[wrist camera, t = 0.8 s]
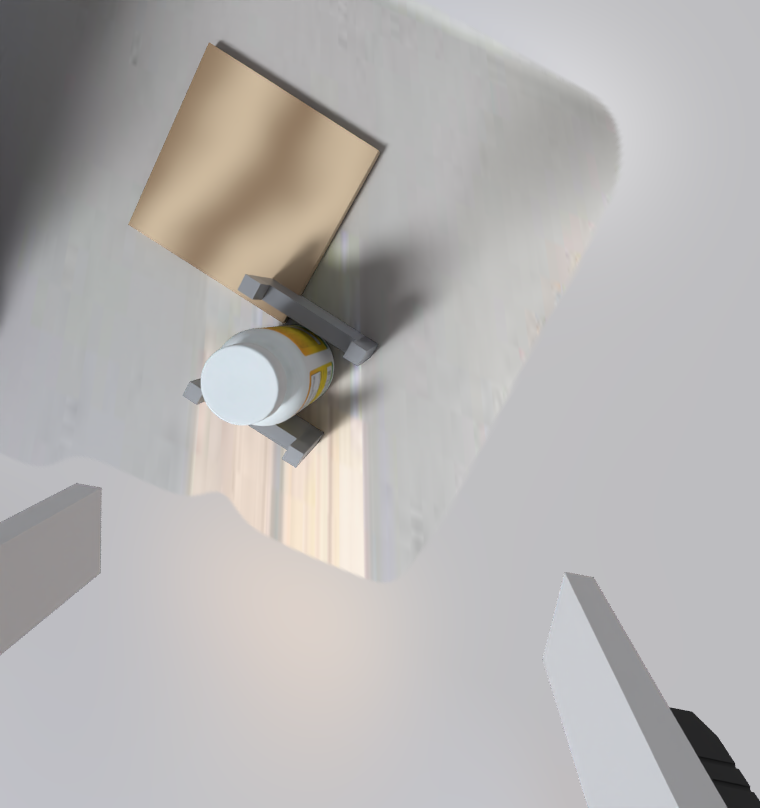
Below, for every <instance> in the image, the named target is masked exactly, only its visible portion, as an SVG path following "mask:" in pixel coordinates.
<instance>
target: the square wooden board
mask: <svg viewBox="0 0 760 808" xmlns="http://www.w3.org/2000/svg"><path fill="white" fill-rule="evenodd" d="M379 154H380V152H379V150H377V149H376V148H374V147H372V146H371V145H369V144H368V143H366V142H365V141H363V140H361V139H360V138H358V137H357V136H355V135H354V134H352V133H350V132H349V131H347V130H346V129H344V128H343V127H341V126H339V125H338V124H336V123H335V122H333V121H332V120H330V119H329V118H327V117H325V116H324V115H322V114H321V113H319V112H318V111H316V110H314V109H313V108H311V107H310V106H308V105H307V104H305V103H303V102H302V101H300V100H299V99H297V98H296V97H294V96H292V95H291V94H289V93H288V92H286V91H285V90H283V89H281V88H280V87H278V86H277V85H275V84H274V83H272V82H271V81H269V80H267V79H266V78H264V77H263V76H261V75H260V74H258V73H256V72H255V71H253V70H252V69H250V68H249V67H247V66H245V65H244V64H242V63H241V62H239V61H238V60H236V59H234V58H233V57H231V56H230V55H228V54H227V53H225V52H223V51H222V50H220V49H219V48H217V47H216V46H214V45H212V44H211V43H209V44H208V46H207V48H206V50H205V53H204V55H203V57H202V59H201V62H200V64H199V66H198V68H197V71H196V73H195V75H194V77H193V80H192V82H191V84H190V86H189V89H188V91H187V93H186V96H185V98H184V100H183V102H182V105H181V107H180V109H179V111H178V114H177V116H176V118H175V120H174V123H173V125H172V127H171V129H170V132H169V134H168V136H167V138H166V141H165V143H164V145H163V147H162V150H161V152H160V154H159V156H158V159H157V161H156V163H155V165H154V168H153V170H152V172H151V175H150V177H149V179H148V181H147V184H146V186H145V188H144V190H143V193H142V195H141V197H140V199H139V202H138V204H137V206H136V208H135V211H134V213H133V215H132V217H131V220H130V222H129V224H128V225H130V226H131V227H133V228H134V229H136V230H138V231H139V232H141V233H142V234H144V235H145V236H147V237H149V238H150V239H152V240H153V241H155V242H156V243H158V244H160V245H161V246H163V247H164V248H166V249H167V250H169V251H171V252H172V253H174V254H175V255H177V256H178V257H180V258H182V259H183V260H185V261H186V262H188V263H189V264H191V265H192V266H194V267H196V268H197V269H199V270H200V271H202V272H203V273H205V274H207V275H208V276H210V277H211V278H213V279H214V280H216V281H218V282H219V283H221V284H222V285H224V286H225V287H227V288H229V289H230V290H232V291H233V292H235V293H236V294H238V295H240V296H241V297H243V298H244V299H246V300H247V301H249V302H251V303H252V304H254V305H255V306H257V307H258V308H260V309H262V310H263V311H265V312H266V313H268V314H269V315H271V316H273V317H274V318H276V319H277V320H279V321H280V322H282V323H286V322H287V320H288V318H289V317H288V316H287V315H285V314H284V313H282V312H280V311H279V310H277V309H276V308H274V307H273V306H271V305H269V304H268V303H266V302H265V301H263V300H253V299H251V298H249V297H248V296H246V295H245V294H243V293H241V292H240V291H238V288H239V286H240V284H241V282H242V280H243V278H244V276H245V274H247V275H254V276H260V277H266V278H272V279H274V280H276V281H277V282H279V283H280V284H282V285H283V286H285V287H286V288H288V289H290V290H291V291H293V292H294V293H296V294H297V295H302V293H303V291H304V289H305V288H306V286H307V284H308V282H309V280H310V279H311V277H312V275H313V273H314V271H315V270H316V268H317V266H318V264H319V262H320V261H321V259H322V257H323V255H324V253H325V252H326V250H327V248H328V246H329V244H330V243H331V241H332V239H333V237H334V235H335V234H336V232H337V230H338V228H339V226H340V225H341V223H342V221H343V219H344V217H345V216H346V214H347V212H348V210H349V208H350V207H351V205H352V203H353V201H354V199H355V198H356V196H357V194H358V192H359V190H360V189H361V187H362V185H363V183H364V181H365V180H366V178H367V176H368V174H369V172H370V171H371V169H372V167H373V165H374V163H375V162H376V160H377V158H378V156H379Z"/></svg>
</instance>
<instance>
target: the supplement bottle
mask: <svg viewBox="0 0 760 808" xmlns="http://www.w3.org/2000/svg"><path fill="white" fill-rule="evenodd" d="M333 375H334V360H333V355H332V352H331V350H330V348H329V346H328V344H327V343H326V341H325V340H324V339H323V338H321V337H320V336H318V335H316V334H315V333H313V332H312V331H310V330H309V329H307V328H306V327H303V326H297V325H287V326H277V327H267V328H255V329H249V330H245V331H242V332H240V333H238V334H236V335H234V336H233V337H231V338H230V339H229V340H228V341H227V342H226V343H225V344H224V345H223V346H222V348H221V349H219V350H217V351H216V352H215V353H214V354H213V355H212V356H211V357H210V358H209V359H208V360H207V361H206V363H205V365H204V367H203V370H202V374H201V391H202V394H203V397H204V400H205V402H206V404H207V405H208V407H209V408H210V409H211V411H212V412H213V413H214V414H215V415H217V416H218V417H219V418H221V419H222V420H224V421H226V422H228V423H231V424H235V425H251V424H252V425H257V426H270V425H275V424H279V423H281V422H284V421H286V420H288V419H289V418H291V417H292V416H294V415H295V414H297V413H298V412H299V411H301V410H302V409H304V408H305V407H306V406H308V405H309V404H311V403H312V402H314V401H315V400H317V399H318V398H319V397H320V396H321V395H323V394H324V393H325V391H326V390H327V389H328V387H329V385H330V383H331V381H332V378H333Z"/></svg>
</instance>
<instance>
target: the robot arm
mask: <svg viewBox="0 0 760 808" xmlns="http://www.w3.org/2000/svg"><path fill="white" fill-rule="evenodd" d="M101 490H102V488H100V487H95V486H89V485H84V484H78V483H76V484H74V485H72V486H70V487H68V488H66V489H64V490H62V491H60V492H58V493H56V494H54V495H53V496H51V497H49V498H47V499H45V500H43V501H41V502H39V503H37V504H35V505H33V506H31V507H29V508H27V509H25V510H23V511H21V512H19V513H17V514H16V515H14V516H12V517H10V518H8V519H6V520H4V521H2V522H0V655H1V654H2V653H4V652H5V651H6V650H7V649H8V648H10V647H11V646H12V645H13V644H15V643H16V642H17V641H18V640H19V639H21V638H22V637H23V636H24V635H25V634H27V633H28V632H29V631H30V630H32V629H33V628H34V627H35V626H37V625H38V624H39V623H40V622H41V621H43V620H44V619H45V618H46V617H47V616H49V615H50V614H51V613H52V612H53V611H55V610H56V609H57V608H58V607H60V606H61V605H62V604H63V603H64V602H65V601H67V600H68V599H69V598H70V597H72V596H73V595H74V594H75V593H77V592H78V591H79V590H80V589H82V588H83V587H84V586H85V585H86V584H88V583H89V582H90V581H91V580H92V579H93V578H95V577H96V576H97V575H99V574H100V572H101V569H100V568H101ZM542 660H543V663H544V666H545V669H546V672H547V676H548V679H549V682H550V686H551V689H552V692H553V696H554V699H555V702H556V705H557V709H558V712H559V715H560V719H561V722H562V725H563V728H564V732H565V735H566V738H567V741H568V744H569V748H570V751H571V754H572V758H573V761H574V764H575V767H576V771H577V774H578V778H579V781H580V784H581V787H582V790H583V794H584V797H585V800H586V803H587V807H588V808H760V801H759V799H758V798H757V796H756V795H755V793H754V792H751V790H750V786H749V784H748V782H747V781H746V779H745V778H744V776H743V775H742V773H741V772H740V770H739V769H736V767H735V763H734V761H733V760H732V758H731V756H730V755H729V753H728V752H727V750H726V749H725V747H724V746H723V744H722V743H721V741H720V740H719V738H718V737H717V736H716V735H715V734H714V733H713V732H712V731H711V730H710V729H709V728H708V727H707V726H706V725H705V724H704V723H703V722H702V721H701V720H700V719H699V718H698V717H697V716H696V715H695V714H694V713H693V712H690V711H685V710H680V709H675V708H670V707H669V706H668V705H667V703H666V701H665V699H664V698H663V696H662V694H661V693H660V691H659V689H658V687H657V686H656V684H655V682H654V680H653V679H652V677H651V675H650V673H649V672H648V670H647V668H646V667H645V665H644V663H643V661H642V660H641V658H640V656H639V655H638V653H637V651H636V650H635V648H634V646H633V644H632V642H631V641H630V639H629V637H628V636H627V634H626V632H625V631H624V629H623V627H622V625H621V624H620V622H619V620H618V619H617V617H616V615H615V613H614V611H613V610H612V608H611V606H610V605H609V603H608V601H607V599H606V598H605V596H604V594H603V592H602V591H601V589H600V587H599V586H598V584H597V583H596V580H595V579H594V577H589V576H584V575H578V574H573V573H567V572H565V573H564V576H563V580H562V584H561V588H560V592H559V596H558V600H557V604H556V608H555V612H554V616H553V620H552V624H551V628H550V632H549V636H548V640H547V644H546V647H545V651H544V655H543V659H542Z"/></svg>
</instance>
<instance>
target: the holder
mask: <svg viewBox="0 0 760 808" xmlns="http://www.w3.org/2000/svg"><path fill="white" fill-rule="evenodd" d="M238 291H240V292H241V293H243V294H245V295H246V296H248V297H249V298H251V299H253V300H263V301H265V302H266V303H268V304H269V305H271V306H273V307H274V308H276V309H277V310H279V311H280V312H282V313H284V314H285V315H287V316H288V317H290V318H291V319H293V320H295V321H296V322H298V323H299V324H301V325H302V326H304V327H306V328H307V329H309V330H310V331H312V332H313V333H315V334H316V335H318V336H320V337H321V338H323V339H324V340H326V341H327V342H329V343H331V344H332V345H334V346H335V347H337V348H338V349H340V350H342V351H343V352H345V354H344V355H343V358H345V359H347V360H348V361H350V362H351V363H353V364H354V365H356V366H359V365H360V364H362V363H363V362H365V361H366V360H367V359H369V358H370V357H371V355H372V354H373V352H374V351H375V349H376V347H377V346H378V344H377V343H375V342H374V341H372V340H370V339H369V338H367V337H366V336H364V335H363V334H361V333H359V332H358V331H356V330H355V329H353V328H352V327H350V326H348V325H347V324H345V323H344V322H342V321H341V320H339V319H337V318H336V317H334V316H333V315H331V314H330V313H328V312H326V311H325V310H323V309H322V308H320V307H319V306H317V305H316V304H314V303H312V302H311V301H309V300H308V299H306V298H305V297H303V296H301V295H297V294H296V293H294V292H293V291H291V290H290V289H288V288H286V287H285V286H283V285H282V284H280V283H279V282H277V281H276V280H274V279H272V278H266V277H260V276H254V275H247V274H245V276H244V278H243V280H242V282H241V284H240V286H239V288H238ZM183 396H184V397H185V398H187V399H188V400H190V401H192V402H193V403H195V404H196V405H197V404H200V403H202V402H205V400H204V397H203V394H202V391H201V378H200V379H197V380H194V381H190V382H189V384H188V386H187V388H186V390H185V392H184V394H183ZM249 426H250V427H252V428H253V429H255V430H256V431H258V432H260V433H261V434H263V435H264V436H266V437H267V438H269V439H271V440H272V441H274V442H275V443H277V444H278V445H280V446H282V447H283V448H285V449H286V450H287V451H286V452H285V454H284V456H283V457H282V459H283V460H284V461H286V462H288V463H289V464H291V465H292V466H294V467H295V468H296V467H297V466H298V465H299V464H300V463H301V461H302V460H303V459H304V458H305V457H306V456H307V455H308V454H309V453H310V451H311V450H312V449H313V448H314V447H315V446H316V445H317V443H318V442H319V440H320V438H321V437H322V435H323V434H324V433H323V432H322V431H320V430H319V429H317V428H316V427H314V426H312V425H311V424H309V423H308V422H306V421H305V420H303V419H301V418H300V417H298V416H297V415H294V416H292V417H291V418H289V419H288V420H286V421H284V422H281V423H279V424H275V425H270V426H257V425H252V424H251V425H249Z"/></svg>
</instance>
